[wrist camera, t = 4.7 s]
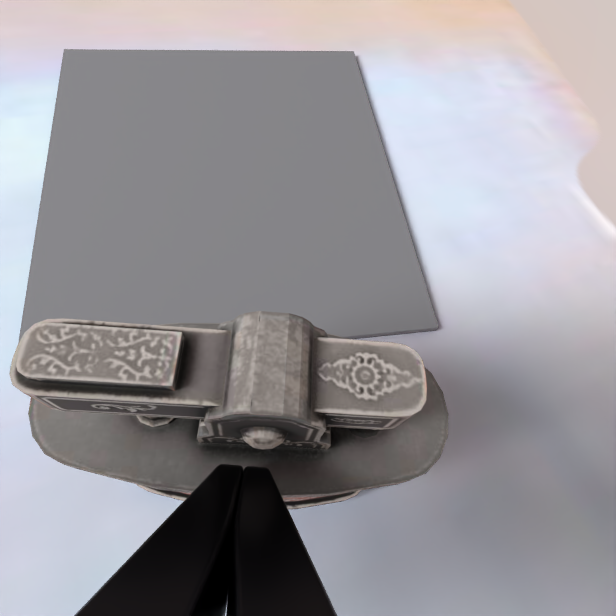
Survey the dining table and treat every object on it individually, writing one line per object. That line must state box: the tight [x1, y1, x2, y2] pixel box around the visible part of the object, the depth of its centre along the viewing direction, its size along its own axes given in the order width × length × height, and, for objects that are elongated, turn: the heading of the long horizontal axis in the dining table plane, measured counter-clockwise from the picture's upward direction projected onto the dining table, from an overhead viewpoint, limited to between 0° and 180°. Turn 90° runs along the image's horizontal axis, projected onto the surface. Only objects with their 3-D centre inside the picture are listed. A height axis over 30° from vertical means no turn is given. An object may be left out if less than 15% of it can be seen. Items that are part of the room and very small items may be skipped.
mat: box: [18, 49, 439, 344], centre depth 20 cm, size 18×16×1 cm
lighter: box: [10, 311, 448, 509], centre depth 11 cm, size 8×3×10 cm, turn 88°
